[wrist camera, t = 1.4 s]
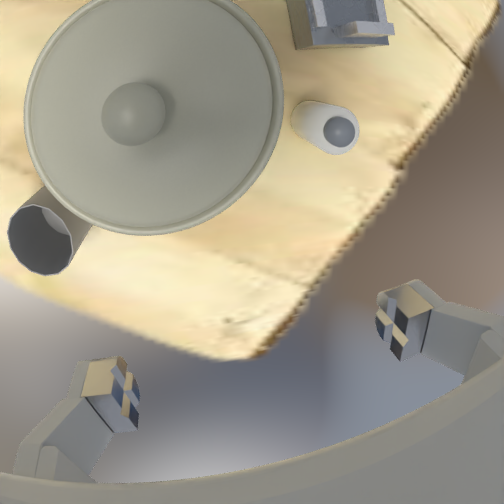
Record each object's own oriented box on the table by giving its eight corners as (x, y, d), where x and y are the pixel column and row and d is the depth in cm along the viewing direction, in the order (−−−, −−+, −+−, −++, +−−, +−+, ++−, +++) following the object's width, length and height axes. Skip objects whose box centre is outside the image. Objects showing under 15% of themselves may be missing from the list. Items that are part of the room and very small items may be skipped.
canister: (143, 1, 25) (87, -77, 7) (276, 73, 32) (368, 68, 14) (68, 134, 31) (-38, 199, 13) (195, 197, 38) (198, 312, 20)
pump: (287, 103, 34) (314, 110, 26) (326, 98, 34) (361, 105, 27) (293, 142, 37) (320, 160, 29) (331, 136, 37) (365, 153, 29)
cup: (90, 168, 34) (59, 197, 25) (104, 228, 38) (83, 270, 30) (35, 182, 33) (-3, 213, 24) (52, 237, 37) (23, 279, 29)
